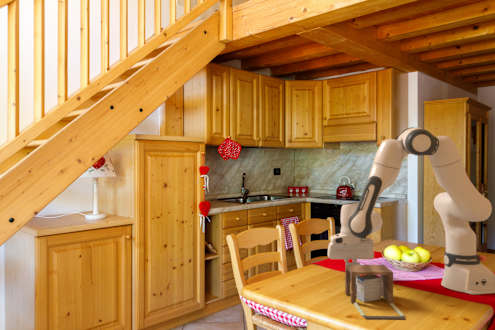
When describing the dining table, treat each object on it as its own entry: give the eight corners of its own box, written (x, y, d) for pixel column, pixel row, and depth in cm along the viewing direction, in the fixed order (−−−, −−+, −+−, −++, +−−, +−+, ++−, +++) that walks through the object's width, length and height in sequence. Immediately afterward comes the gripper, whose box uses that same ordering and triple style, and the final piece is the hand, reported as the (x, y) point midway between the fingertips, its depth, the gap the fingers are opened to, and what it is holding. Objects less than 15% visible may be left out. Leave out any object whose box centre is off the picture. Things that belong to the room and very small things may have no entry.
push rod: (361, 278, 168) (361, 262, 168) (374, 292, 150) (374, 274, 150) (343, 278, 168) (343, 262, 168) (353, 292, 150) (353, 274, 150)
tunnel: (383, 294, 149) (383, 264, 148) (393, 303, 139) (393, 272, 138) (345, 293, 149) (345, 264, 149) (351, 303, 139) (351, 272, 139)
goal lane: (392, 304, 138) (392, 303, 138) (404, 317, 127) (404, 315, 127) (353, 304, 138) (353, 302, 138) (362, 316, 127) (362, 315, 127)
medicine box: (373, 296, 147) (373, 273, 146) (381, 300, 142) (381, 277, 142) (356, 298, 144) (356, 275, 144) (364, 302, 140) (364, 279, 139)
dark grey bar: (403, 317, 126) (403, 316, 126) (405, 319, 125) (405, 318, 125) (364, 317, 127) (364, 315, 127) (365, 319, 125) (365, 317, 125)
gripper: (371, 236, 174) (371, 266, 174) (326, 236, 174) (326, 266, 174) (376, 239, 167) (375, 270, 168) (329, 239, 168) (329, 270, 168)
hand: (350, 268), depth 171 cm, fingers closed
